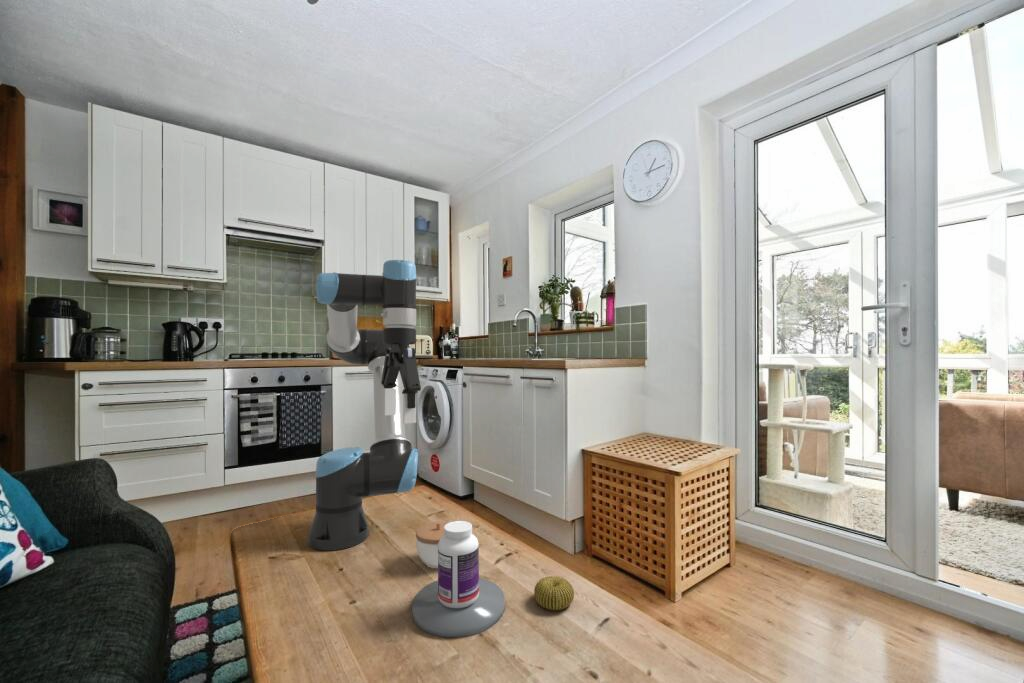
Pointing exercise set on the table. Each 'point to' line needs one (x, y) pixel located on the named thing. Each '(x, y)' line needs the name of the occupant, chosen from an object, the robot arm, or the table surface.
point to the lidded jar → (430, 542)
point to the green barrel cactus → (554, 593)
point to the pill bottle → (458, 566)
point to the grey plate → (458, 611)
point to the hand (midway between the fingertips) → (399, 418)
